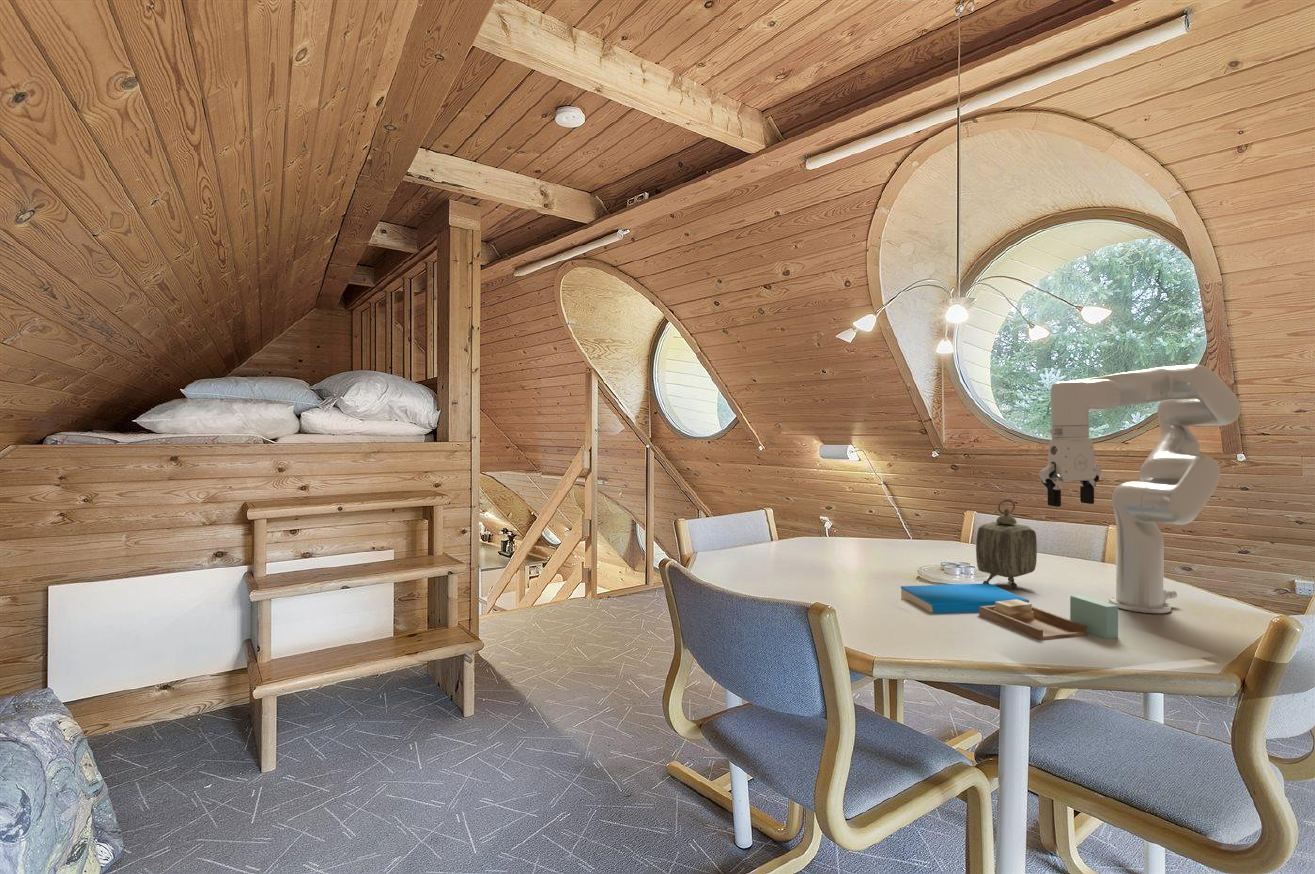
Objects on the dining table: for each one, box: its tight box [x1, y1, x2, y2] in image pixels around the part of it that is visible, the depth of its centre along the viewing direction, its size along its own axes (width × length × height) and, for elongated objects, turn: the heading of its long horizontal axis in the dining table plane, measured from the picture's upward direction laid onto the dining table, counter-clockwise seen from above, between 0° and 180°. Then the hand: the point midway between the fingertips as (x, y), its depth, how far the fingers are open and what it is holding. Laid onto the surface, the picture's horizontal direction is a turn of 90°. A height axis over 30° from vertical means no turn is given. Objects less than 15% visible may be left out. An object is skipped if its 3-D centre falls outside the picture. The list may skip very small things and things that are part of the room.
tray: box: [978, 605, 1088, 641], centre depth 145 cm, size 12×18×3 cm, turn 13°
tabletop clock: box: [975, 498, 1038, 589], centre depth 182 cm, size 14×9×25 cm, turn 115°
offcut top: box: [995, 599, 1033, 614], centre depth 150 cm, size 6×4×2 cm, turn 107°
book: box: [900, 582, 1030, 614], centre depth 164 cm, size 17×4×25 cm
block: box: [1069, 594, 1119, 639], centre depth 140 cm, size 9×3×8 cm, turn 13°
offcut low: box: [994, 609, 1034, 621], centre depth 150 cm, size 7×4×2 cm, turn 103°
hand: (1070, 504), depth 153 cm, fingers open, 9 cm apart
